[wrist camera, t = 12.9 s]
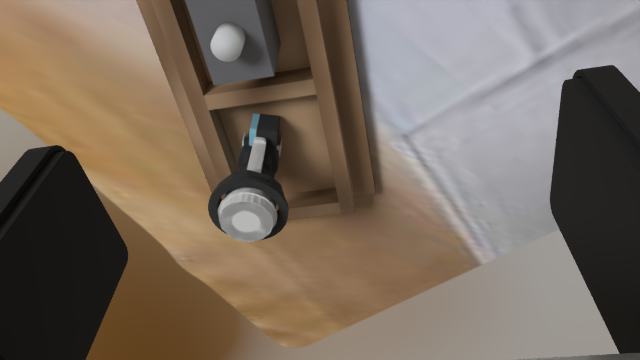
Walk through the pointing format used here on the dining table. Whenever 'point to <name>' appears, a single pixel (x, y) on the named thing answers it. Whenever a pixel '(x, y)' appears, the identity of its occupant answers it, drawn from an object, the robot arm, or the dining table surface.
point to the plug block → (236, 38)
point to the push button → (253, 187)
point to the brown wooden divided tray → (277, 103)
